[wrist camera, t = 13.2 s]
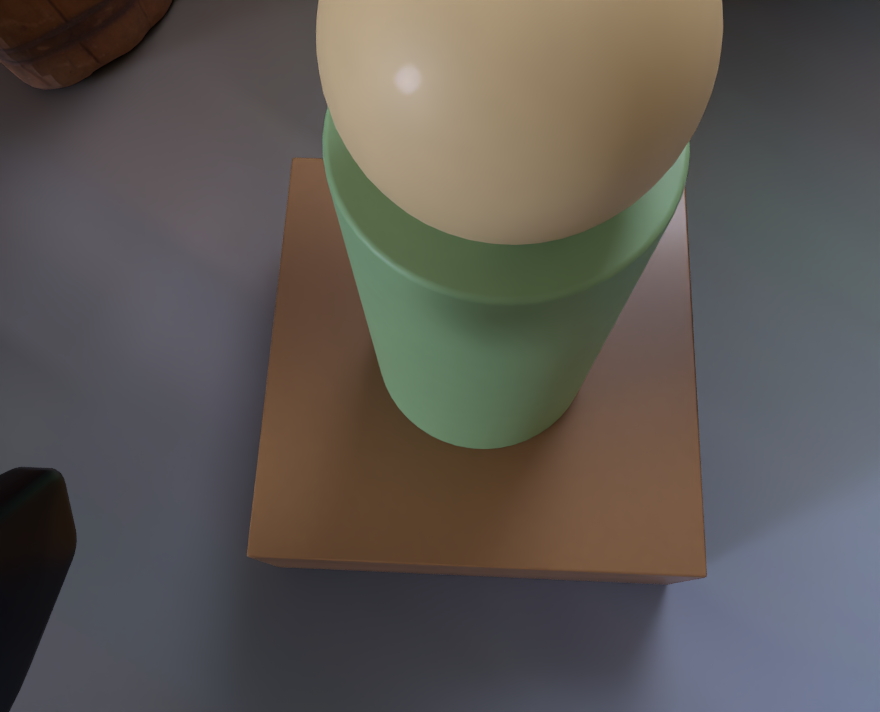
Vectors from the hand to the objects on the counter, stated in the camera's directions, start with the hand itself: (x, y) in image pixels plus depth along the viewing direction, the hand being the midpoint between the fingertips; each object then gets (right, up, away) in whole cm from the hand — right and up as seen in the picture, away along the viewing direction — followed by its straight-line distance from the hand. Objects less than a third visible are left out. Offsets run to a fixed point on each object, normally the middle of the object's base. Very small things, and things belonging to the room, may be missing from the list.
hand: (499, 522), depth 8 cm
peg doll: (0, +2, +9) cm, 9 cm away
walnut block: (0, +1, +12) cm, 12 cm away
